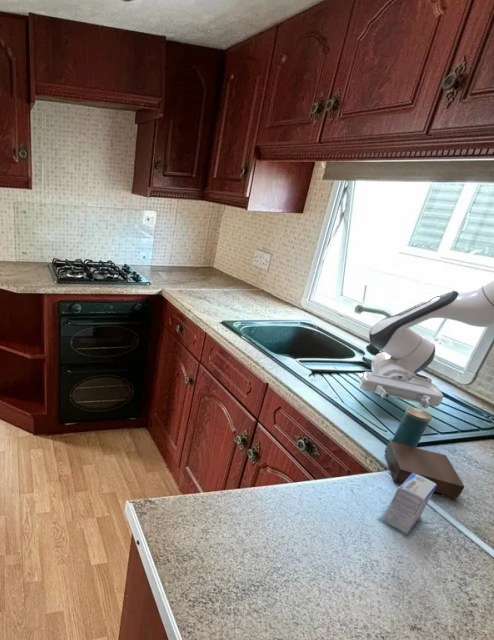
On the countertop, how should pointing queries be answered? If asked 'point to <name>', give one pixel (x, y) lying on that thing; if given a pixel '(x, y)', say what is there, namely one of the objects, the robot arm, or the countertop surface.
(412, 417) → the teal canister
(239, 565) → the countertop surface
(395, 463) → the walnut platform
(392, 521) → the medicine box
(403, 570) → the countertop surface
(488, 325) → the robot arm
